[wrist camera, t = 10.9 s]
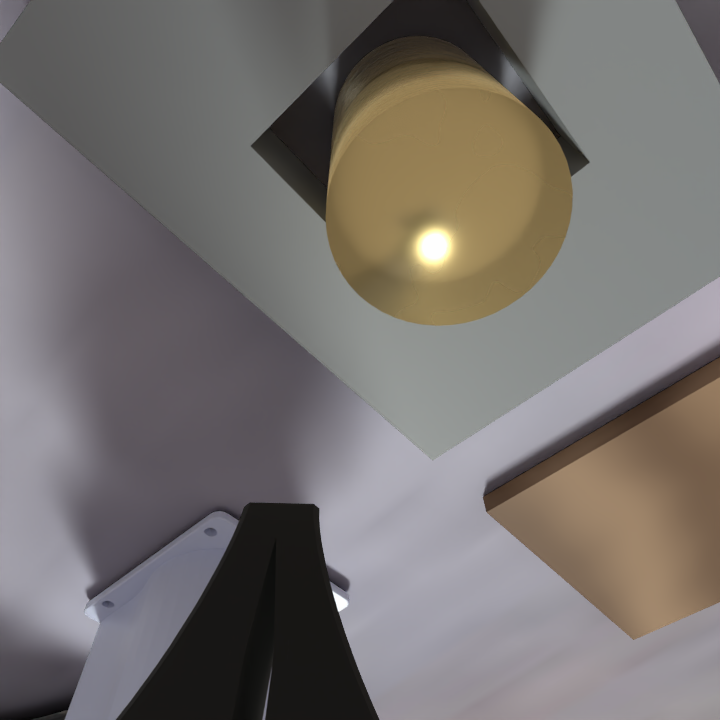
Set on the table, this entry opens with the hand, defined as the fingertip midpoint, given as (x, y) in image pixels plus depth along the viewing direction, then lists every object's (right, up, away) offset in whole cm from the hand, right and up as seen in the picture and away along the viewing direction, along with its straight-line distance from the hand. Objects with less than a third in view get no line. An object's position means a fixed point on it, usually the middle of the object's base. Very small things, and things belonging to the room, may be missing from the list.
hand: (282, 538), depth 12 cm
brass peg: (+3, +10, +5) cm, 11 cm away
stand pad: (+15, -2, +13) cm, 20 cm away
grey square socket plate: (+3, +10, +5) cm, 11 cm away
